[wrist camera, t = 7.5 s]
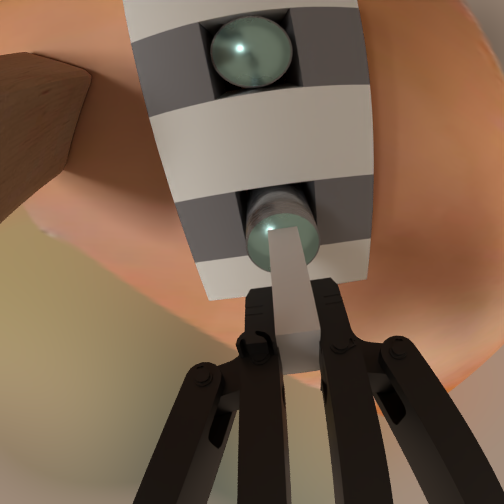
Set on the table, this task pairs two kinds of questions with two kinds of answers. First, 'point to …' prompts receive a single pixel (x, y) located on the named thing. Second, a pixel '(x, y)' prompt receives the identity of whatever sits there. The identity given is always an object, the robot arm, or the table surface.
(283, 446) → the robot arm
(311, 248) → the peg
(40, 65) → the wooden block
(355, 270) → the socket board
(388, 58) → the table surface
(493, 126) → the table surface
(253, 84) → the peg
